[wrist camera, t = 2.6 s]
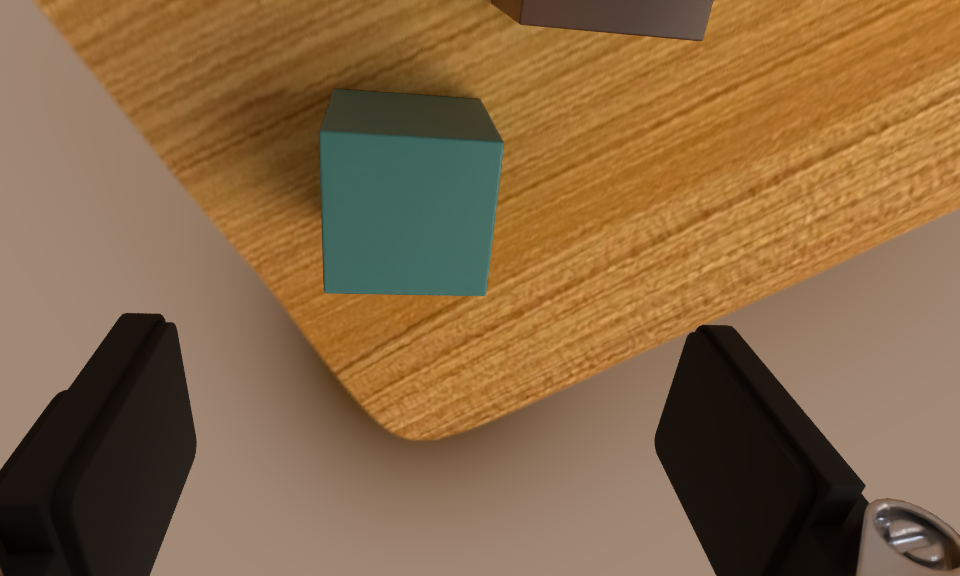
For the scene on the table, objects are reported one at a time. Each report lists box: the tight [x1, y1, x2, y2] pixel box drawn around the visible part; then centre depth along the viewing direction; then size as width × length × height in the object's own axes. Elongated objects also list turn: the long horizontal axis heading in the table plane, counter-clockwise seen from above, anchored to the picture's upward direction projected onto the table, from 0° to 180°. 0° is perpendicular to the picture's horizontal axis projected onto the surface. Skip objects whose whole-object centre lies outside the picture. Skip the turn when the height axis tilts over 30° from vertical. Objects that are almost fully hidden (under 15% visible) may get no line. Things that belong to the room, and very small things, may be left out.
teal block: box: [319, 89, 504, 296], centre depth 20 cm, size 5×5×5 cm
